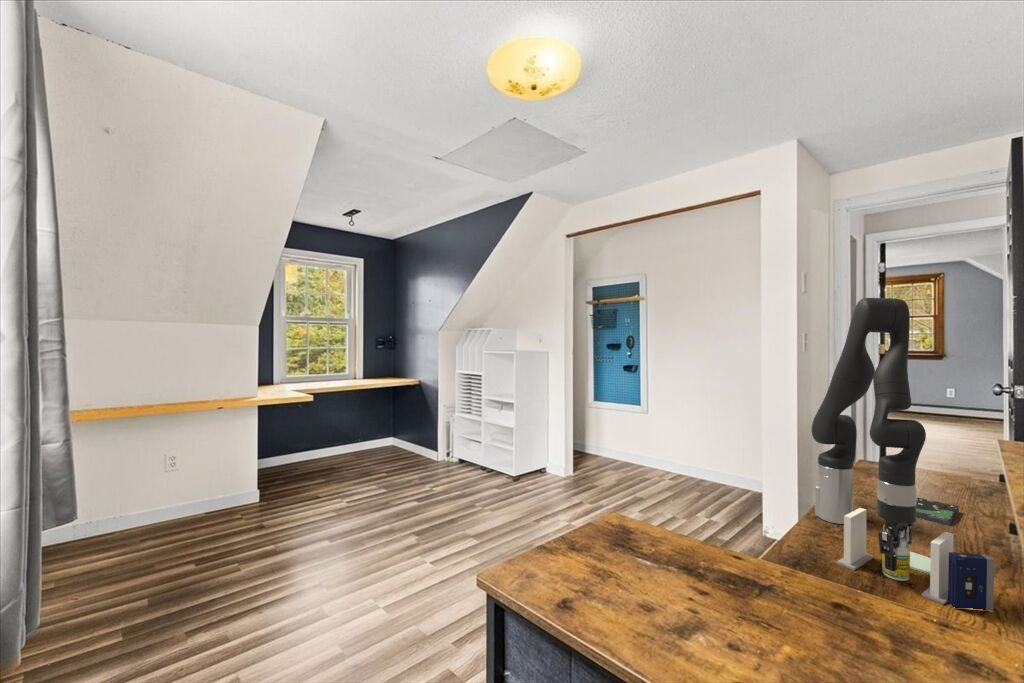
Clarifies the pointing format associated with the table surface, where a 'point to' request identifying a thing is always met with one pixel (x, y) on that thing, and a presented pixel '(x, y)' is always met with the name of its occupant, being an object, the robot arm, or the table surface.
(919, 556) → the pad
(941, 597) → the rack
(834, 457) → the robot arm
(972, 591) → the cassette player
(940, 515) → the disk drive
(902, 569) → the supplement bottle
